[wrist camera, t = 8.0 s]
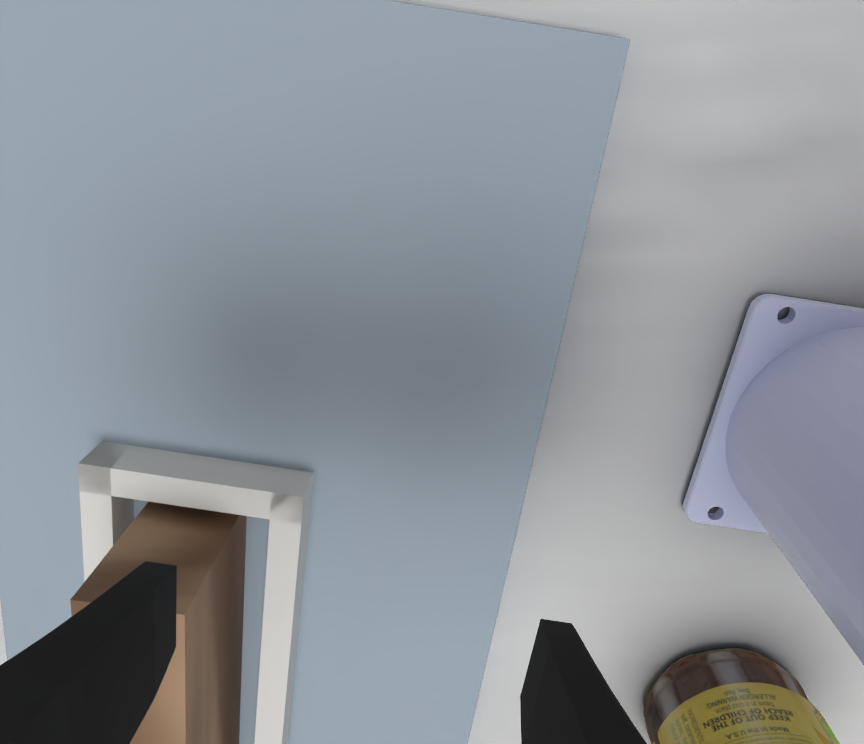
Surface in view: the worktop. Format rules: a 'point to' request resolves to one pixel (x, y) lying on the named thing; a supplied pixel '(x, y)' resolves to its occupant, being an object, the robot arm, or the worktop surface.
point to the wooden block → (189, 618)
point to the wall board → (292, 321)
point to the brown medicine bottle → (731, 703)
